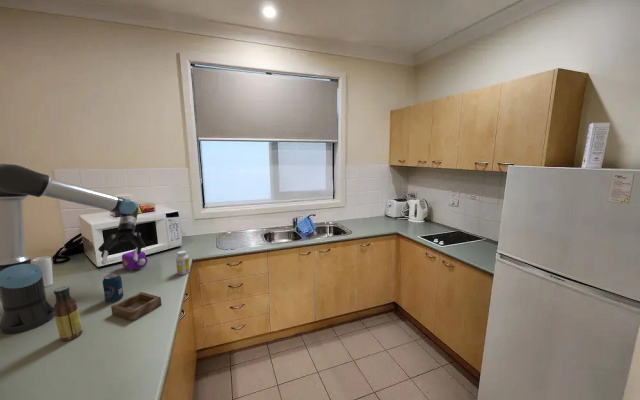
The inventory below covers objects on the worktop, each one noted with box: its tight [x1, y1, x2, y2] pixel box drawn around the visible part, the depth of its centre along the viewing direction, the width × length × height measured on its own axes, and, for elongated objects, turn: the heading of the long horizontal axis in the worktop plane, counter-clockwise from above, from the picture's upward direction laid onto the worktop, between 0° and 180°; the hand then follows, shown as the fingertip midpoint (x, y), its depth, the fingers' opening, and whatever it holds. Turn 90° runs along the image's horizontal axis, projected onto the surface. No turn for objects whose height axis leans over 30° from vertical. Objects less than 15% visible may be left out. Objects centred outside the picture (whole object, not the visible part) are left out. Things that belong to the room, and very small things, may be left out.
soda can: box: [102, 272, 124, 304], centre depth 123 cm, size 7×7×12 cm
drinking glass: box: [31, 256, 54, 288], centre depth 136 cm, size 7×7×15 cm
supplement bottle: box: [175, 250, 191, 276], centre depth 152 cm, size 7×7×13 cm
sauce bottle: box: [53, 285, 83, 342], centre depth 96 cm, size 6×6×20 cm
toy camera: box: [121, 249, 148, 271], centre depth 159 cm, size 11×14×10 cm
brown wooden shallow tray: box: [110, 291, 162, 322], centre depth 115 cm, size 13×13×4 cm
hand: (119, 261), depth 131 cm, fingers open, 13 cm apart
